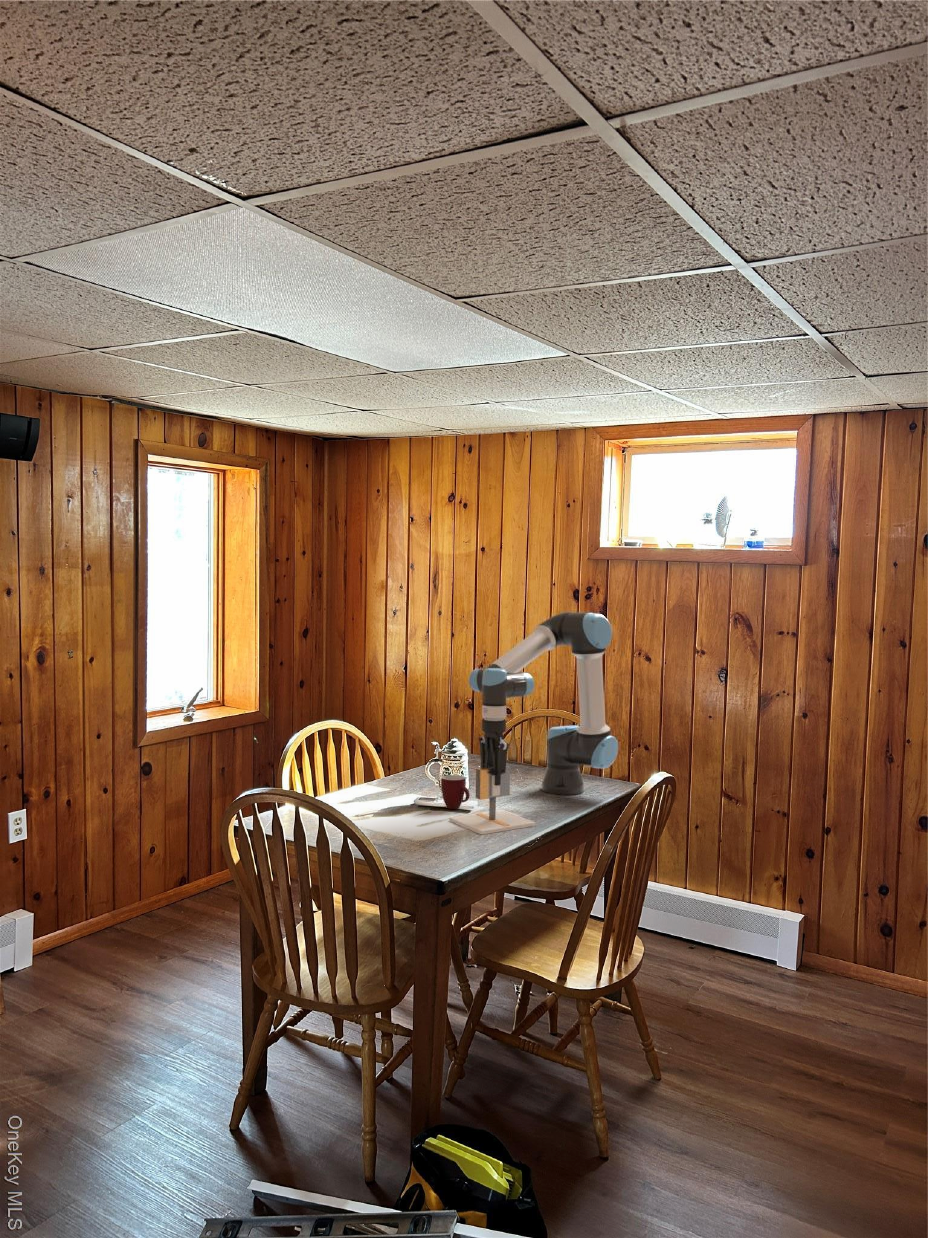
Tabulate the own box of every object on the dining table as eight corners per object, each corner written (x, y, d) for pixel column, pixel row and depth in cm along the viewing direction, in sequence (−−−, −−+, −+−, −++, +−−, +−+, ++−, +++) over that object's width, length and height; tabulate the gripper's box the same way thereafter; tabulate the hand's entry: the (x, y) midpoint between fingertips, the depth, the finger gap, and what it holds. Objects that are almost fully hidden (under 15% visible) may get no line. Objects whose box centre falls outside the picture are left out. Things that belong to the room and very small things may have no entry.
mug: (476, 808, 300) (476, 778, 300) (463, 813, 294) (463, 782, 293) (449, 803, 306) (449, 774, 306) (436, 808, 299) (436, 778, 299)
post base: (502, 812, 295) (502, 788, 295) (535, 825, 280) (536, 799, 280) (449, 820, 284) (449, 795, 284) (481, 834, 269) (481, 807, 269)
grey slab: (504, 793, 286) (505, 765, 285) (509, 795, 284) (510, 766, 283) (475, 798, 280) (475, 768, 279) (480, 799, 278) (480, 770, 277)
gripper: (470, 716, 285) (468, 790, 286) (498, 723, 272) (496, 801, 273) (489, 714, 289) (488, 788, 290) (518, 721, 276) (517, 798, 277)
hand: (492, 794), depth 282 cm, fingers closed on grey slab, 2 cm apart
